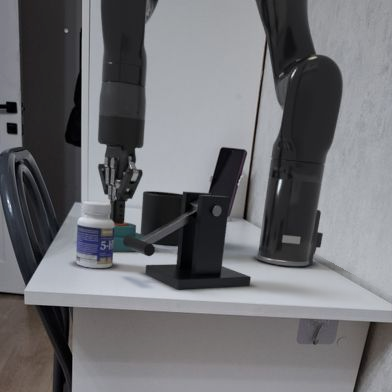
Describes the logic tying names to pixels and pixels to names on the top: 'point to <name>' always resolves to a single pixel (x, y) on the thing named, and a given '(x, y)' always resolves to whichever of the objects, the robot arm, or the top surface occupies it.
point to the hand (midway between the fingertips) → (116, 222)
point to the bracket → (201, 248)
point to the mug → (160, 214)
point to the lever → (160, 232)
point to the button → (121, 224)
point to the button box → (121, 233)
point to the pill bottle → (95, 236)
